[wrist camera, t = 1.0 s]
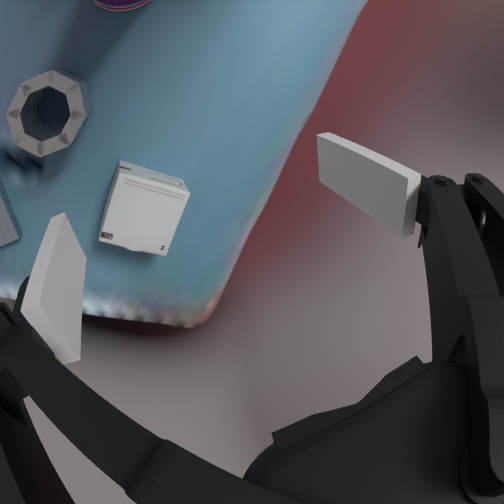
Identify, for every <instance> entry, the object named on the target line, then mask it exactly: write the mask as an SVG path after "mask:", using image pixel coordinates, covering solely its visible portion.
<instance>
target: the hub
mask: <svg viewBox="0 0 504 504" xmlns="http://www.w3.org/2000/svg"><path fill="white" fill-rule="evenodd" d="M50 88H54V89H56V90H58V91H60V92H62V93H64V94H66V96H67V101H68V106H69V110H70V114H71V115H70V117H69V119H68V121H67V123H66V125H65V126H64V127H63V128H60V129H57V130H53V129H51V128H49V127H47V126H45V125H43V124H41V122H40V118H39V114H38V110H37V105H38V103H39V101H40V99H41V97H42V95H43V94H44V92H45V90H47V89H50ZM92 110H93V107H92V103H91V98H90V93H89V88H88V83H87V82H85V81H84V80H82V79H80V78H78V77H76V76H74V75H72V74H70V73H68V72H66V71H64V70H50V71H47V72H45V73H42V74H40V75H37V76H35V77H33V78H30V79H28V80H26V81H24V82H21V84H20V86H19V88H18V90H17V92H16V94H15V96H14V98H13V100H12V102H11V104H10V106H9V108H8V111H7V113H6V116H7V120H8V124H9V127H10V131H11V135H12V138H13V142H14V145H16V146H18V147H20V148H22V149H24V150H26V151H28V152H30V153H32V154H34V155H36V156H38V157H43V156H45V155H48V154H50V153H53V152H55V151H58V150H61V149H63V148H66V147H69V146H70V145H71V144H72V142H73V141H74V140H75V138H76V137H77V136H78V134H79V133H80V131H81V129H82V127H83V125H84V124H85V122H86V120H87V118H88V117H89V115H90V113H91V112H92Z"/></svg>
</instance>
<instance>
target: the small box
mask: <svg viewBox="0 0 504 504" xmlns="http://www.w3.org/2000/svg"><path fill="white" fill-rule="evenodd" d="M189 196H190V193H189V191H188V189H187V187H186V185H185V183H184V181H183V179H180V178H177V177H174V176H170V175H167V174H164V173H160V172H157V171H154V170H151V169H147V168H144V167H141V166H137V165H134V164H131V163H128V162H125V161H122V160H120V161H119V164H118V167H117V169H116V172H115V175H114V178H113V181H112V184H111V188H110V191H109V194H108V197H107V201H106V204H105V208H104V212H103V216H102V220H101V226H100V234H99V241H101V242H104V243H108V244H112V245H117V246H121V247H125V248H127V249H129V250H131V251H143V252H147V253H151V254H156V255H160V256H164V257H166V256H167V253H168V250H169V247H170V244H171V242H172V239H173V236H174V233H175V231H176V228H177V226H178V223H179V221H180V218H181V216H182V213H183V211H184V208H185V205H186V203H187V201H188V198H189Z"/></svg>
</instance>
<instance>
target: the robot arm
mask: <svg viewBox="0 0 504 504" xmlns="http://www.w3.org/2000/svg"><path fill="white" fill-rule="evenodd" d="M317 146H318V161H319V178H320V182H321V183H323V184H324V185H326V186H327V187H329V188H330V189H332V190H333V191H335V192H336V193H338V194H339V195H341V196H342V197H344V198H345V199H347V200H348V201H349V202H351V203H352V204H354V205H355V206H357V207H358V208H359V209H361V210H362V211H364V212H365V213H367V214H368V215H369V216H371V217H372V218H374V219H375V220H376V221H378V222H379V223H381V224H382V225H383V226H384V227H386V228H387V229H388V230H390V231H391V232H392V233H394V234H395V235H397V236H398V237H399V238H401V239H403V238H405V237H407V236H410V235H412V234H414V228H415V221H417V222H418V223H420V224H421V225H422V226H421V232H420V238H419V243H418V248H420V246H421V245H422V247H423V253H424V261H425V267H426V276H427V284H428V294H429V304H430V317H431V333H432V362H429V363H424V364H423V363H422V361H421V360H420V359H419V358H418V357H417V356H415V357H414V358H412V359H410V360H409V361H408V362H406V363H404V364H403V365H401V366H400V367H398V368H396V369H395V370H393V371H392V372H390V373H388V374H387V375H386V376H385V377H384V378H383V379H382V380H381V381H380V382H379V383H378V384H377V385H376V386H375V387H374V388H373V389H372V390H371V391H370V392H369V393H368V394H367V395H366V396H365V397H364V398H363V399H362V400H361V401H360V402H358V403H356V404H354V405H350V406H346V407H343V408H338V409H335V410H330V411H326V412H322V413H318V414H313V415H311V416H308V417H306V418H304V419H302V420H300V421H298V422H295V423H293V424H291V425H289V426H287V427H284V428H282V429H280V430H277V431H275V432H272V433H271V434H272V437H273V440H274V443H273V444H271V445H270V446H269V447H267V448H266V449H265V450H264V451H263V452H262V453H261V454H259V455H258V456H257V458H256V459H255V460H254V461H253V463H252V464H251V465H250V466H249V468H248V470H247V471H246V473H245V475H244V477H243V479H242V478H239V477H237V476H235V475H233V474H231V473H229V472H227V471H225V470H223V469H220V468H219V467H217V466H215V465H213V464H211V463H209V462H207V461H205V460H203V459H201V458H200V457H198V456H196V455H194V454H192V453H191V452H189V451H187V450H185V449H184V448H182V447H180V446H178V445H177V444H175V443H173V442H171V441H169V440H166V439H165V440H163V439H161V438H159V437H158V436H156V435H155V434H153V433H152V432H150V431H148V430H147V429H145V428H144V427H142V426H141V425H140V424H138V423H137V422H135V421H134V420H132V419H131V418H129V417H128V416H126V415H125V414H124V413H122V412H121V411H120V410H118V409H117V408H116V407H114V406H113V405H112V404H110V403H109V402H107V401H106V400H105V399H104V398H102V397H101V396H99V395H98V394H97V393H96V392H95V391H93V390H92V389H91V388H89V387H88V386H87V385H86V384H85V383H84V382H82V381H81V380H80V379H79V378H78V377H76V376H75V375H74V374H73V373H72V372H71V371H70V370H68V369H67V368H66V367H65V366H64V365H66V364H69V363H72V362H75V361H79V360H81V320H82V319H81V318H82V303H83V289H84V278H85V268H86V259H87V258H86V256H85V254H84V252H83V250H82V248H81V246H80V244H79V242H78V240H77V238H76V236H75V234H74V231H73V229H72V227H71V225H70V223H69V220H68V218H67V216H66V214H65V212H63V213H61V214H59V215H56V216H54V217H52V218H51V220H50V222H49V225H48V227H47V230H46V232H45V235H44V238H43V240H42V243H41V246H40V249H39V252H38V254H37V257H36V260H35V263H34V266H33V269H32V272H31V276H29V277H26V279H25V280H24V281H23V283H22V284H21V286H20V288H19V292H18V295H17V296H18V297H17V298H16V304H15V305H14V308H13V312H11V310H10V309H9V307H8V306H7V304H6V303H3V302H1V303H0V504H75V502H74V501H73V499H72V498H71V496H70V494H69V493H68V491H67V490H66V488H65V486H64V484H63V483H62V481H61V479H60V477H59V476H58V474H57V472H56V470H55V468H54V466H53V465H52V463H51V461H50V459H49V457H48V455H47V453H46V451H45V449H44V447H43V445H42V443H41V441H40V439H39V436H38V434H37V433H36V430H35V428H34V425H33V423H32V421H31V418H30V416H29V413H28V411H27V409H26V406H25V404H24V401H23V399H24V398H25V397H27V396H28V395H29V396H30V397H31V398H32V399H33V401H34V402H35V403H36V404H37V405H38V407H39V408H40V409H41V410H42V411H43V412H44V413H45V415H46V416H47V417H48V418H49V419H50V420H51V421H52V422H53V424H54V425H55V426H56V427H57V428H58V429H59V430H60V431H61V432H62V433H63V434H64V435H65V436H66V437H67V438H68V439H69V440H70V441H71V442H72V443H73V444H74V445H75V446H76V447H77V448H78V449H79V450H80V451H81V452H82V453H83V454H84V455H85V456H86V457H87V458H88V459H89V460H91V461H92V462H93V463H94V464H95V465H96V466H97V467H98V468H99V469H101V470H102V471H103V472H104V473H105V474H106V475H108V476H109V477H110V478H111V479H112V480H114V481H115V482H116V483H117V484H118V485H120V486H121V487H122V488H123V489H124V490H125V494H127V496H128V497H129V498H130V499H132V500H133V501H134V502H135V503H137V504H504V194H503V193H502V192H501V191H500V190H499V189H498V188H497V187H496V186H495V185H494V184H493V183H492V182H491V181H490V180H489V179H487V178H486V177H484V176H482V175H481V174H477V173H475V174H473V173H469V174H467V175H465V181H464V184H461V185H457V184H456V183H455V182H454V181H453V180H452V179H450V178H447V177H445V176H439V175H434V176H430V177H429V178H426V177H424V176H423V175H421V174H419V173H417V172H415V171H413V170H411V169H409V168H407V167H405V166H403V165H401V164H399V163H397V162H395V161H393V160H391V159H389V158H387V157H385V156H382V155H380V154H378V153H376V152H374V151H372V150H369V149H367V148H365V147H362V146H360V145H358V144H356V143H353V142H351V141H349V140H346V139H344V138H341V137H339V136H337V135H334V134H332V133H323V134H318V135H317ZM484 214H485V217H486V219H485V224H483V218H484ZM55 356H56V357H57V358H58V359H59V361H60V362H61V363H60V362H59V361H58V360H57V359H56V358H55Z"/></svg>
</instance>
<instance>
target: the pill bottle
mask: <svg viewBox="0 0 504 504" xmlns="http://www.w3.org/2000/svg"><path fill="white" fill-rule="evenodd" d="M92 1H93V2H94V3H95V4H97V5H98V6H100V7H102V8H104V9H107V10H111V11H128V10H132V9H135V8H138V7H140V6H142V5H144V4H146V3H148V2H149V1H151V0H92Z"/></svg>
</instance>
